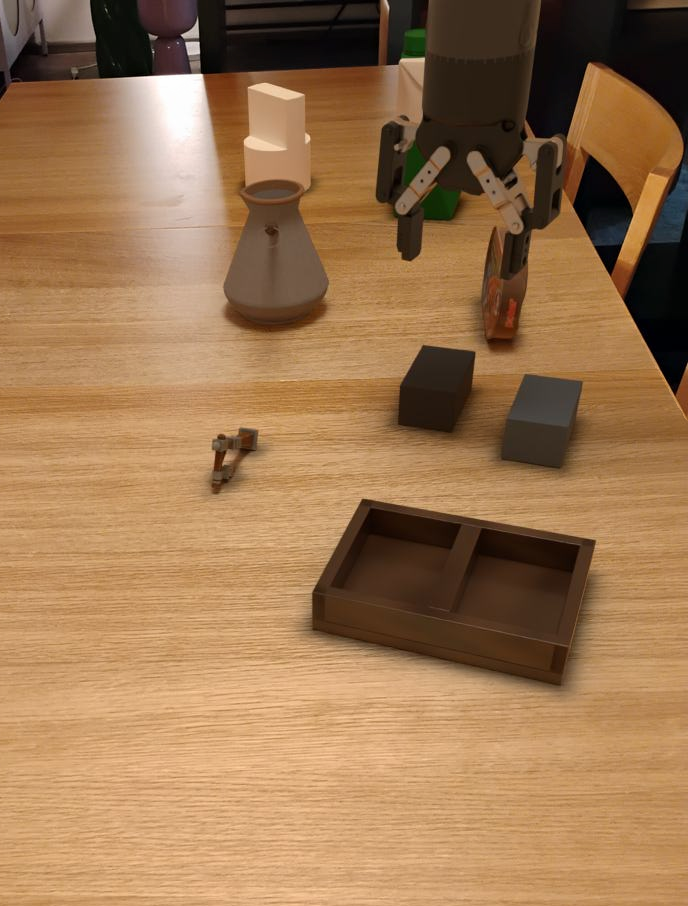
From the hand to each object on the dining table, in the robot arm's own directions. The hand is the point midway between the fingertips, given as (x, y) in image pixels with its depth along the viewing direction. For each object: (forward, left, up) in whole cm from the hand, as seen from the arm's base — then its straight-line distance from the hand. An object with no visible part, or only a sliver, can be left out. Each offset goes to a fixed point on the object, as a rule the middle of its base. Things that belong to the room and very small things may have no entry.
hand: (458, 266), depth 83 cm
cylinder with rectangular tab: (+37, -56, -15) cm, 69 cm away
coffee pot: (+22, -15, -15) cm, 30 cm away
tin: (0, -23, -15) cm, 27 cm away
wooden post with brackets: (+16, +11, -15) cm, 25 cm away
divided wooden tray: (-6, +23, -15) cm, 28 cm away
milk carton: (+15, -52, -15) cm, 56 cm away
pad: (-8, -1, -15) cm, 17 cm away
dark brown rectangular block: (+2, -4, -15) cm, 16 cm away
